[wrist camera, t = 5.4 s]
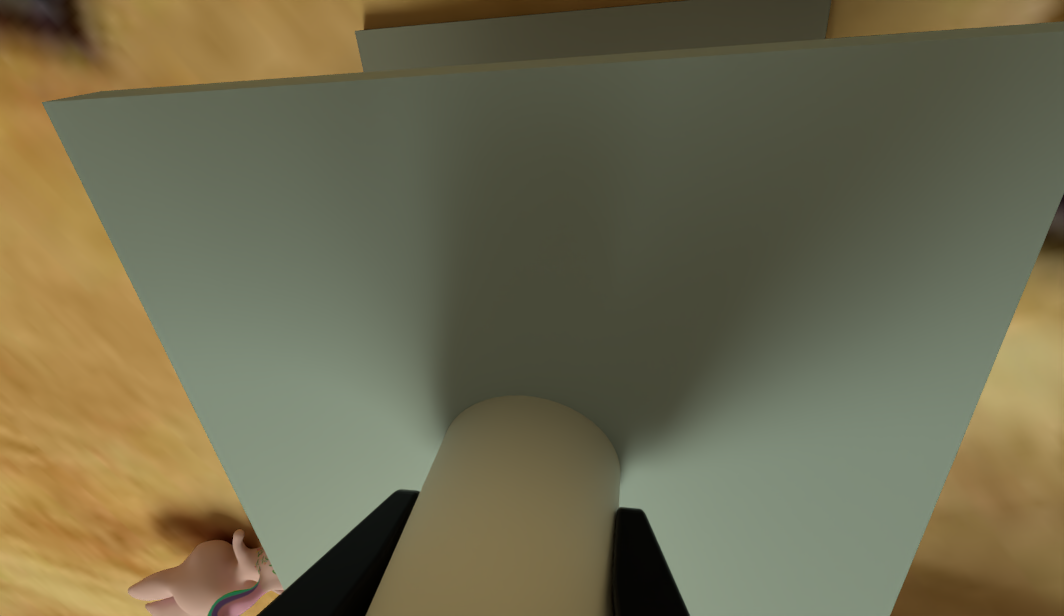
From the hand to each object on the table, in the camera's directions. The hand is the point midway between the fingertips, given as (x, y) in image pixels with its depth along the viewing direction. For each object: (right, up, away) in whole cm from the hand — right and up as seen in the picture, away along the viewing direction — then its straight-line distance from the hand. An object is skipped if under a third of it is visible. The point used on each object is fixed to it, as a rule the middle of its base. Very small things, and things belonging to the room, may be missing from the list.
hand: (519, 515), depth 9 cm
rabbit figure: (-18, -12, +26) cm, 33 cm away
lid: (0, +1, +2) cm, 2 cm away
